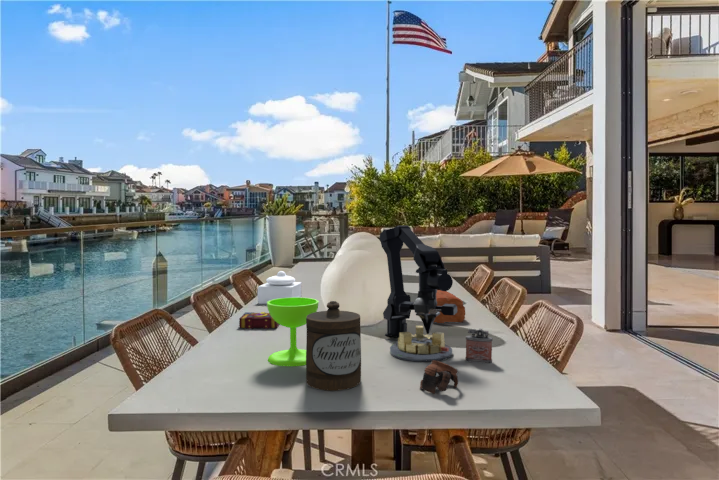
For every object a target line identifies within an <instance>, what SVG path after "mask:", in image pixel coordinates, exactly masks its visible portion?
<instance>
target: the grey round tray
mask: <svg viewBox="0 0 719 480" xmlns="http://www.w3.org/2000/svg"><path fill="white" fill-rule="evenodd" d="M412 343H432V340H431V339H428V338H412ZM445 347H447V348H449V351H448V352H446V351H441V352H439V353H432V354H430V353H428V354H418V353H416V354H414V353H408V352H404V351H402V350H399V349H398V342H395V343H394V344H392V345H390V347H389V350H390V351H389V354H390V355H391V356H392V357H394V358H396V359H399V360H403V361H408V362H418V363H419V362H420V363H431V361H432V360H434V361H439V362H442V361H445V360H448V359H449V358H451V357H452V356H453V348H452V347H451V346H450V345H447V344H445Z"/></svg>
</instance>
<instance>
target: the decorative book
mask: <svg viewBox="0 0 719 480" xmlns="http://www.w3.org/2000/svg"><path fill="white" fill-rule="evenodd" d="M238 320H239V321H238V324H239V329H248V330H249V329H250V330H251V329H252V330H253V329H265V330H267V329H277V328H278V327H279V325H280V324H279V323H277V322H276V321H275V320H274V319H273V318H272V317H271V315H270V313H269V312H265V311H261V312H244V313H242V316H240V317H239V319H238Z"/></svg>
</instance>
